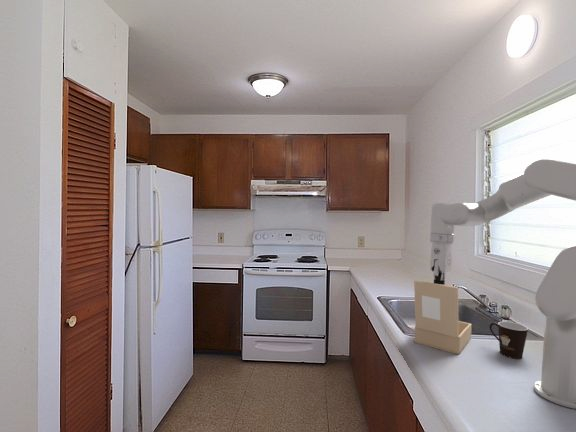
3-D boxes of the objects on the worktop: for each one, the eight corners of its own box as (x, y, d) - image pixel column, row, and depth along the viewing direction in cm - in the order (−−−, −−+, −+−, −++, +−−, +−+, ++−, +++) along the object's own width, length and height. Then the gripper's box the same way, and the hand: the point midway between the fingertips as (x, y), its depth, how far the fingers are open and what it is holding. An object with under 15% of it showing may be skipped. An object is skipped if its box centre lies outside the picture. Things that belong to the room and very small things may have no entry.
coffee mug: (532, 361, 114) (534, 331, 114) (505, 359, 114) (507, 329, 114) (510, 346, 126) (512, 319, 125) (486, 345, 126) (488, 318, 126)
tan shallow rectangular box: (470, 339, 131) (471, 323, 131) (459, 354, 117) (459, 337, 117) (429, 329, 140) (430, 314, 140) (414, 342, 126) (415, 325, 126)
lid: (458, 287, 113) (457, 288, 113) (458, 336, 117) (457, 338, 116) (414, 280, 122) (414, 281, 121) (416, 326, 126) (415, 327, 125)
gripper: (447, 241, 112) (444, 297, 113) (458, 238, 124) (455, 289, 125) (423, 238, 117) (420, 293, 118) (436, 236, 129) (433, 285, 129)
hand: (438, 291), depth 121 cm, fingers closed
